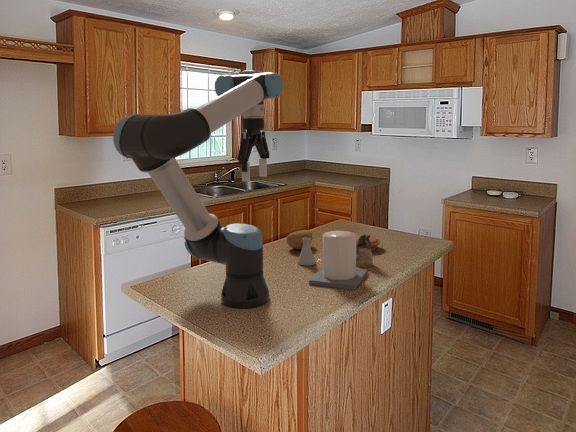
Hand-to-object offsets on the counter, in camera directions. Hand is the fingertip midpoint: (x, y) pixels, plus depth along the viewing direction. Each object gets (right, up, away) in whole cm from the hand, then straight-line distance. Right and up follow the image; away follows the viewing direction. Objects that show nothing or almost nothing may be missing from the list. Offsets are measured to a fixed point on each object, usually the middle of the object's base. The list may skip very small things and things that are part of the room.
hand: (254, 179), depth 171 cm
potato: (+17, -27, +39) cm, 50 cm away
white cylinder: (+30, -34, -1) cm, 45 cm away
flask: (+19, -32, +18) cm, 41 cm away
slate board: (+30, -35, -1) cm, 46 cm away
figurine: (+41, -32, +15) cm, 54 cm away
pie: (+44, -27, +37) cm, 64 cm away
